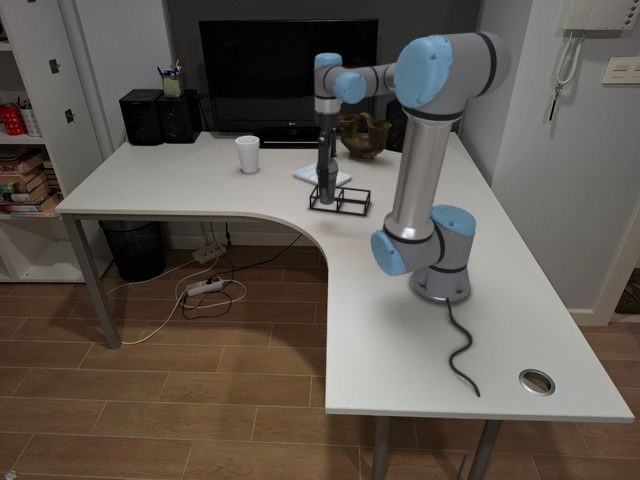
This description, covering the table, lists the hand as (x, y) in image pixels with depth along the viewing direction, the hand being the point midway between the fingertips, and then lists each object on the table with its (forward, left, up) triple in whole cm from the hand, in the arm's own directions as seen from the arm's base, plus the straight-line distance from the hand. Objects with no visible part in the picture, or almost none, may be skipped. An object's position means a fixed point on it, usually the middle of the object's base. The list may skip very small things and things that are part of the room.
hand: (327, 182), depth 141 cm
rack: (+12, -2, -15) cm, 19 cm away
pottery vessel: (+57, -2, -15) cm, 59 cm away
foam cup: (+33, +41, -15) cm, 55 cm away
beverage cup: (0, 0, -7) cm, 7 cm away
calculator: (+33, +10, -15) cm, 38 cm away
